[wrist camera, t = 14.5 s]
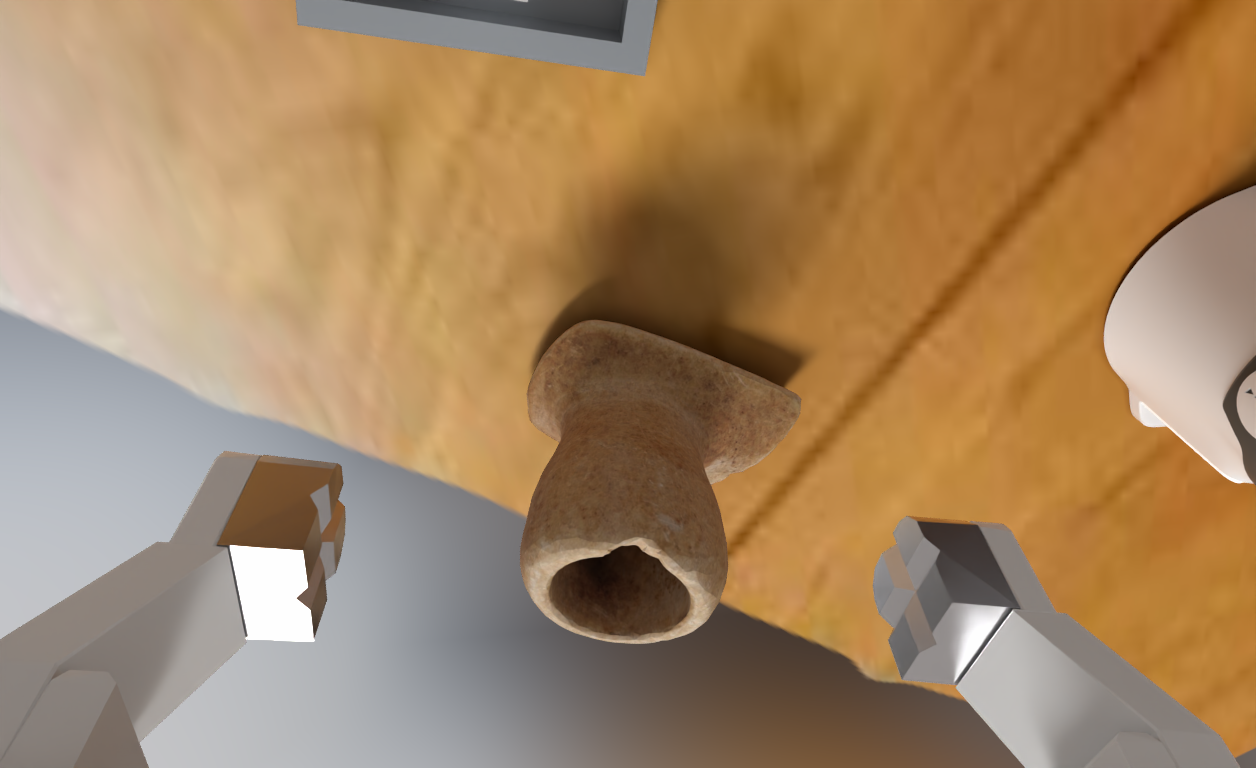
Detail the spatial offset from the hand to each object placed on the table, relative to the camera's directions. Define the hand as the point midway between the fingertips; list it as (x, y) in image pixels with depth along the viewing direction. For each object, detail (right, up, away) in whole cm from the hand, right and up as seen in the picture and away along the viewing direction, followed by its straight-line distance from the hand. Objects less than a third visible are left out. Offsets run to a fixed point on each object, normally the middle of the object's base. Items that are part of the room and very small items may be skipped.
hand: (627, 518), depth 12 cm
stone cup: (+1, +1, +38) cm, 38 cm away
